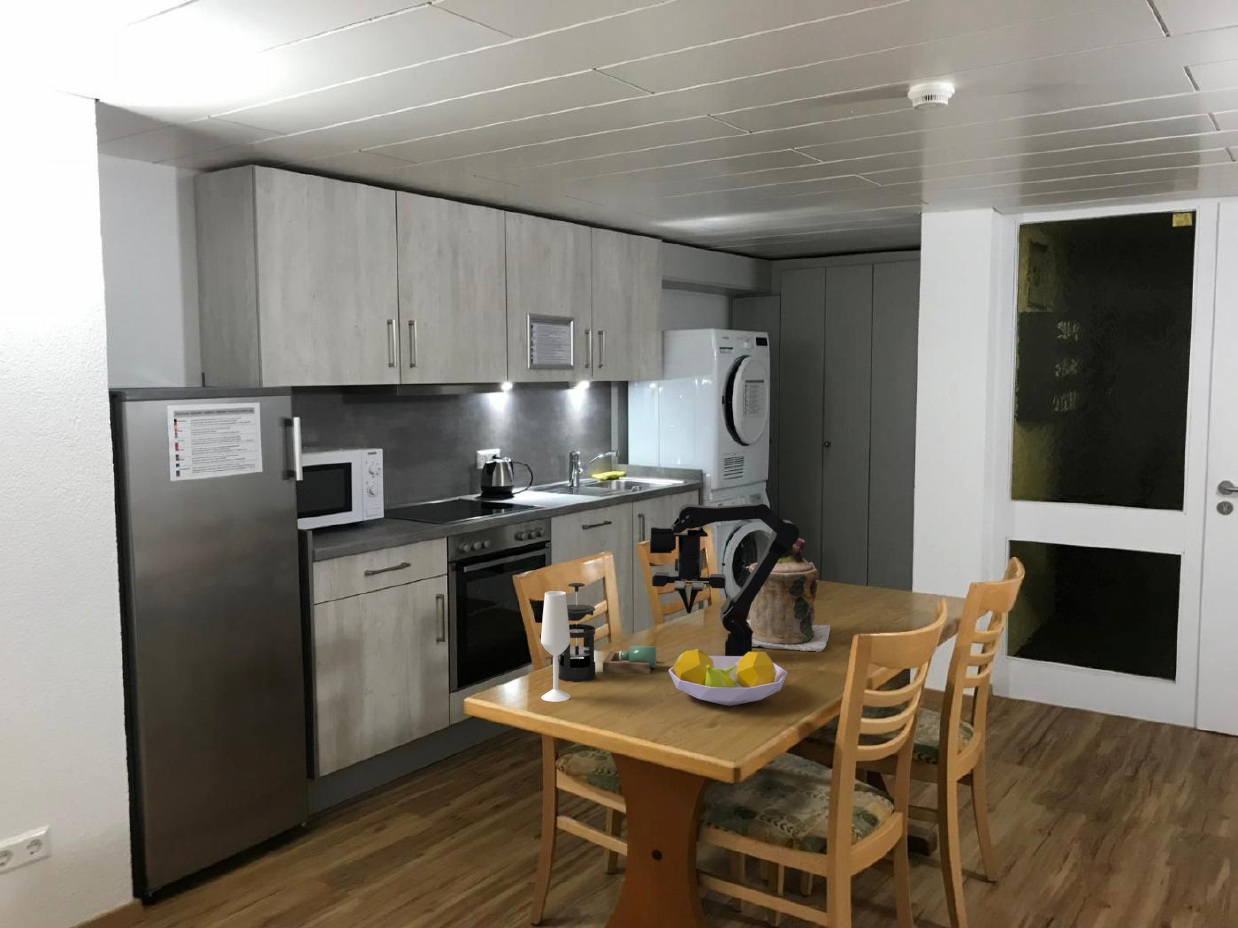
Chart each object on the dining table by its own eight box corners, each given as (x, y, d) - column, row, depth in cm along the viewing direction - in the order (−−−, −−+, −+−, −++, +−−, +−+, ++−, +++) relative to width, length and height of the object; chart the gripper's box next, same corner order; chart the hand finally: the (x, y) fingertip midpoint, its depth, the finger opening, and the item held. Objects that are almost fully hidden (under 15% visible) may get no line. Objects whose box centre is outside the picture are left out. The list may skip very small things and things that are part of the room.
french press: (605, 674, 246) (605, 582, 245) (585, 684, 238) (584, 589, 237) (566, 668, 252) (565, 577, 251) (544, 677, 244) (543, 584, 243)
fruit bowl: (710, 673, 248) (710, 627, 247) (808, 694, 231) (808, 645, 230) (640, 700, 226) (640, 651, 226) (742, 725, 209) (742, 672, 208)
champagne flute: (537, 694, 231) (536, 591, 229) (565, 691, 233) (564, 589, 231) (546, 703, 224) (545, 597, 223) (574, 699, 227) (574, 594, 225)
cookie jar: (733, 647, 273) (733, 530, 270) (746, 626, 296) (747, 518, 294) (825, 653, 266) (827, 533, 264) (831, 631, 290) (833, 521, 287)
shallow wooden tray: (654, 661, 258) (654, 652, 258) (648, 673, 247) (648, 664, 247) (610, 660, 260) (610, 650, 259) (602, 671, 249) (602, 662, 249)
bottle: (656, 642, 253) (620, 641, 254) (654, 653, 248) (618, 651, 249) (656, 660, 255) (621, 659, 256) (654, 671, 250) (619, 670, 251)
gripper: (727, 549, 265) (726, 607, 266) (657, 547, 268) (657, 605, 269) (725, 556, 254) (724, 617, 255) (651, 554, 257) (651, 614, 258)
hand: (689, 613), depth 260 cm, fingers closed
